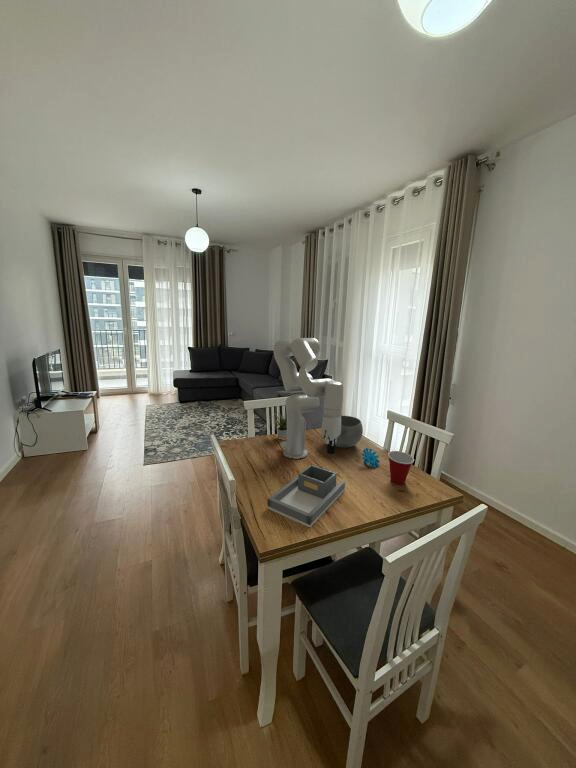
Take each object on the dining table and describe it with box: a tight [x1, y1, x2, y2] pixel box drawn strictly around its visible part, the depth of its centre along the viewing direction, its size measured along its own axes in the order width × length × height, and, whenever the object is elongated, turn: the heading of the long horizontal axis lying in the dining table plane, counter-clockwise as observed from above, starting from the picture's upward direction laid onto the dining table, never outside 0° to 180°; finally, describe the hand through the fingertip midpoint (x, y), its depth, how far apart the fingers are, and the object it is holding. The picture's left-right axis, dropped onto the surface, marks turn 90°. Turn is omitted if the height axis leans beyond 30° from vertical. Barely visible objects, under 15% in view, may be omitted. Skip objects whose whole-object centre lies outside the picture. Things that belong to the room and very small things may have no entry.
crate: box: [297, 464, 338, 499], centre depth 123 cm, size 12×10×7 cm
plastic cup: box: [387, 450, 415, 485], centre depth 132 cm, size 11×11×12 cm
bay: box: [267, 475, 346, 528], centre depth 118 cm, size 18×28×4 cm, turn 146°
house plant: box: [271, 412, 287, 439], centre depth 176 cm, size 14×14×16 cm
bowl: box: [335, 415, 364, 449], centre depth 168 cm, size 20×20×15 cm
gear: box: [361, 447, 381, 469], centre depth 149 cm, size 11×6×10 cm
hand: (331, 453), depth 129 cm, fingers closed
